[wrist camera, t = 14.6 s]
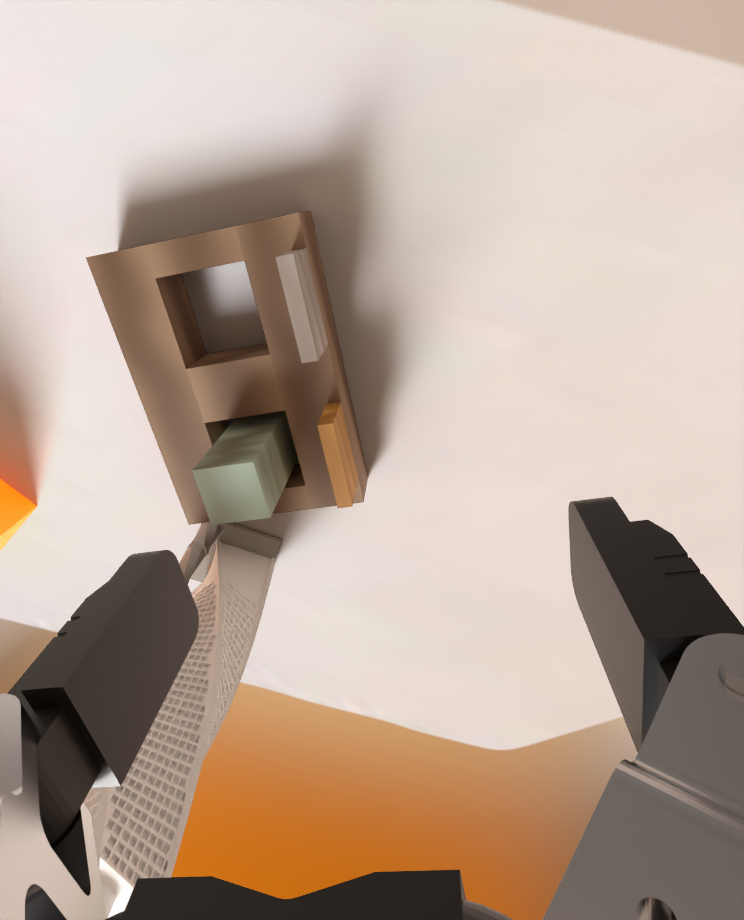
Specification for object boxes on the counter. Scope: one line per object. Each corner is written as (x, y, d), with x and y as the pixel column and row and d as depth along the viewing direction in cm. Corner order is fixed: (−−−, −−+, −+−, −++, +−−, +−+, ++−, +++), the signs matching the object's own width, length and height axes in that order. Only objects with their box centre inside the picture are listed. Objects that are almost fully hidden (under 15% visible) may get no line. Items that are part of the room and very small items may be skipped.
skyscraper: (297, 544, 47) (163, 933, 22) (275, 611, 51) (136, 1013, 26) (204, 514, 47) (-43, 879, 22) (187, 584, 50) (-42, 969, 25)
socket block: (310, 211, 36) (283, 214, 29) (367, 477, 44) (358, 531, 37) (117, 252, 38) (47, 264, 31) (206, 499, 46) (167, 554, 39)
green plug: (288, 405, 42) (253, 461, 33) (300, 452, 44) (270, 517, 35) (239, 413, 43) (192, 470, 34) (253, 458, 44) (211, 525, 35)
